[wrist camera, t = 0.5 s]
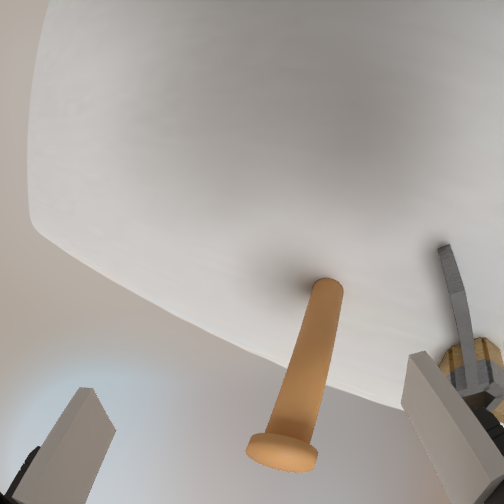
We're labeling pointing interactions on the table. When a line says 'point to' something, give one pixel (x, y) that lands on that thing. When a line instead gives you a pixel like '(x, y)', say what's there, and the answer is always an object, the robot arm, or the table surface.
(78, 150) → the table surface
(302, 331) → the hinge pin
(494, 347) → the hinge leaf
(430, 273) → the table surface
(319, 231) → the table surface
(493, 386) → the hinge leaf
